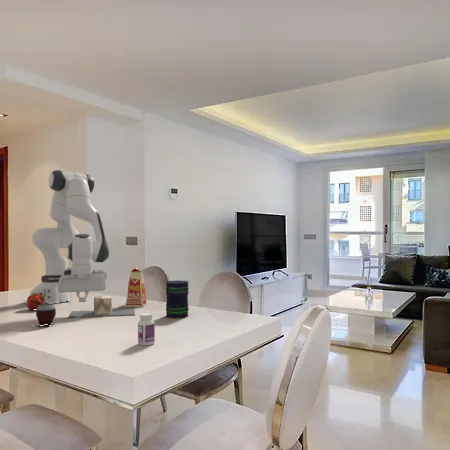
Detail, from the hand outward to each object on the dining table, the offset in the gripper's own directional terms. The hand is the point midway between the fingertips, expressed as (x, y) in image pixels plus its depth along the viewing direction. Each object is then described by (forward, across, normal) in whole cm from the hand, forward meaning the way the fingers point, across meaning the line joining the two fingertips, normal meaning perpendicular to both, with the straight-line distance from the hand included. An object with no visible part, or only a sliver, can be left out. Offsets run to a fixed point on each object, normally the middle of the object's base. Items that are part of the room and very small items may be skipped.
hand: (82, 301), depth 187 cm
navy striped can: (+6, -41, +13) cm, 43 cm away
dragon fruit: (+6, +22, -17) cm, 29 cm away
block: (+2, -5, 0) cm, 5 cm away
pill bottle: (+6, -25, +57) cm, 63 cm away
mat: (+6, -9, 0) cm, 10 cm away
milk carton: (+6, -24, -19) cm, 31 cm away
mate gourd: (+6, +11, +21) cm, 24 cm away
